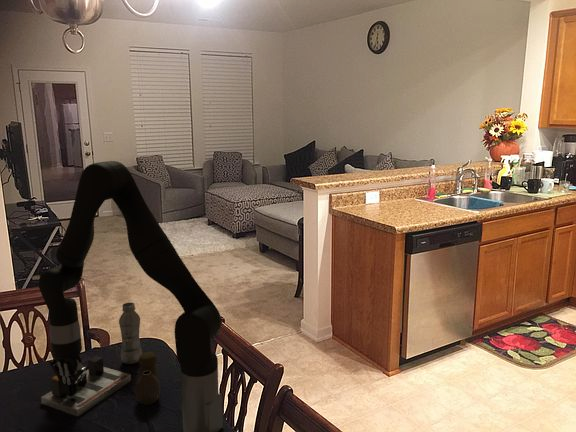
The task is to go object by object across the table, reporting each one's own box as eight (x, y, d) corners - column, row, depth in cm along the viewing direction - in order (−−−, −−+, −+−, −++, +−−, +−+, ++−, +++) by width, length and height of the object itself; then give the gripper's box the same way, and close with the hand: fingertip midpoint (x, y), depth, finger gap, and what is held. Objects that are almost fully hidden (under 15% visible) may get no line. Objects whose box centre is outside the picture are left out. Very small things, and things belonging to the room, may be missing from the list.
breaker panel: (131, 380, 146) (129, 361, 145) (77, 416, 128) (75, 394, 127) (97, 370, 152) (95, 351, 151) (41, 403, 134) (39, 382, 133)
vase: (135, 409, 132) (133, 380, 130) (136, 396, 138) (134, 368, 136) (161, 405, 133) (159, 377, 132) (160, 392, 140) (159, 364, 138)
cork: (154, 395, 138) (152, 360, 136) (134, 393, 140) (132, 358, 137) (163, 384, 144) (161, 350, 142) (145, 382, 145) (143, 348, 143)
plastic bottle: (120, 359, 159) (116, 302, 155) (141, 355, 162) (137, 299, 158) (122, 368, 153) (118, 309, 149) (144, 364, 156) (140, 306, 152)
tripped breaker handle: (68, 391, 136) (66, 375, 135) (59, 396, 133) (57, 380, 132) (61, 388, 137) (59, 372, 136) (52, 394, 135) (50, 377, 134)
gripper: (94, 335, 131) (99, 393, 134) (60, 327, 136) (65, 382, 140) (71, 347, 124) (77, 407, 127) (36, 337, 130) (43, 395, 133)
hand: (71, 394), depth 133 cm, fingers closed
